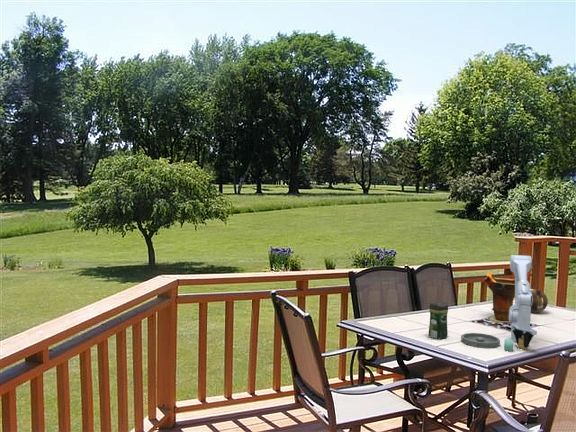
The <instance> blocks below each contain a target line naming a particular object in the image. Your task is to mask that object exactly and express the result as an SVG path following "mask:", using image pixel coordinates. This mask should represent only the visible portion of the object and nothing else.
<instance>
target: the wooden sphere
mask: <svg viewBox="0 0 576 432" xmlns="http://www.w3.org/2000/svg"><path fill="white" fill-rule="evenodd" d="M530 292H531V294H532V298H533V303H532V306H531V304H530V306H531V313H532V314H534V313H535V314H537V313H541V312H543V311H545V310H546V308H547V307H548V303H549V302H548V301H549V300H548V297H547V295H546V293H544V291H542V290H540V289H537V288H530Z"/></svg>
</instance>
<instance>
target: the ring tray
mask: <svg viewBox="0 0 576 432" xmlns="http://www.w3.org/2000/svg"><path fill="white" fill-rule="evenodd" d="M460 338H461V343H463V344H464V345H467V346H469V347H472V348H473V347H474V348H481V349H494V348H498V347H499V346H500V344H501V340H500V338H499V337H497V336H495V335H493V334H487V333H478V332H467V333H463V334H461V335H460Z"/></svg>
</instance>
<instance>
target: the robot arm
mask: <svg viewBox="0 0 576 432" xmlns="http://www.w3.org/2000/svg"><path fill="white" fill-rule="evenodd" d="M532 263H533V260H532V256H531V255H518V254H517V255H515V254H511V255H510V257H509V269H510V272H512V273H513V274H514V279H515V295H514V303H513V306H511V307H510V309H509V321H510V322H511V323H510V328H511V329H510V330H511V331H510V338H509V339H510V340H513V343H514V342H515V343H516V345H517V346H518V339H519V338H524V347H525V348H526V347H527V348H529V346H530V343H531V341H532V339H533V337H535V336H537V335H538V331H537V330H535V329H534V328H532V327H531V321H532V319H531V318H532V317H531V316H532V315H531V314H532V312H531V306H532V303H533V298H532V294H531V292H530V289H531V283H530V282H529V281H528V273H529V272H530V270H531V267H532ZM530 304H531V306H530Z"/></svg>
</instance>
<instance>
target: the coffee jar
mask: <svg viewBox="0 0 576 432" xmlns="http://www.w3.org/2000/svg"><path fill="white" fill-rule="evenodd" d="M428 310H429V314H430V315H429V326H428V327H429V328H428V337H429V338H431V339H435V340H441V339H446V338H447V337H448V335H449V334H448V332H449V331H448V312H449V305H448V302H446V301H445V302H444V301H441V300H440V301H437V302H431V303H429V308H428Z"/></svg>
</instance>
